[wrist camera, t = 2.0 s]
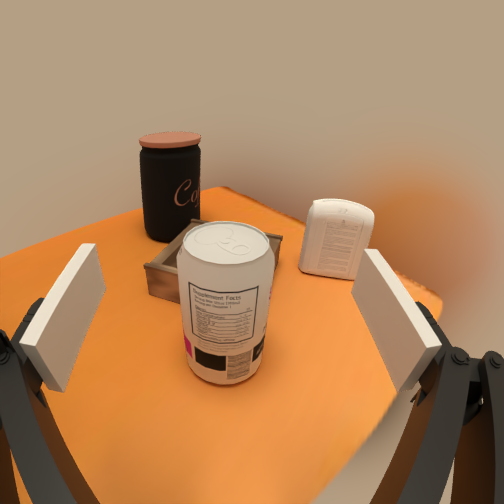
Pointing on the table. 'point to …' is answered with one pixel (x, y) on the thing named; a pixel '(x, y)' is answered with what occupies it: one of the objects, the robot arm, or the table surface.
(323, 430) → the table surface
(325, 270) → the white rounded block
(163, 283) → the crate
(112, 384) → the table surface
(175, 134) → the coffee jar
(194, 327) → the supplement can
